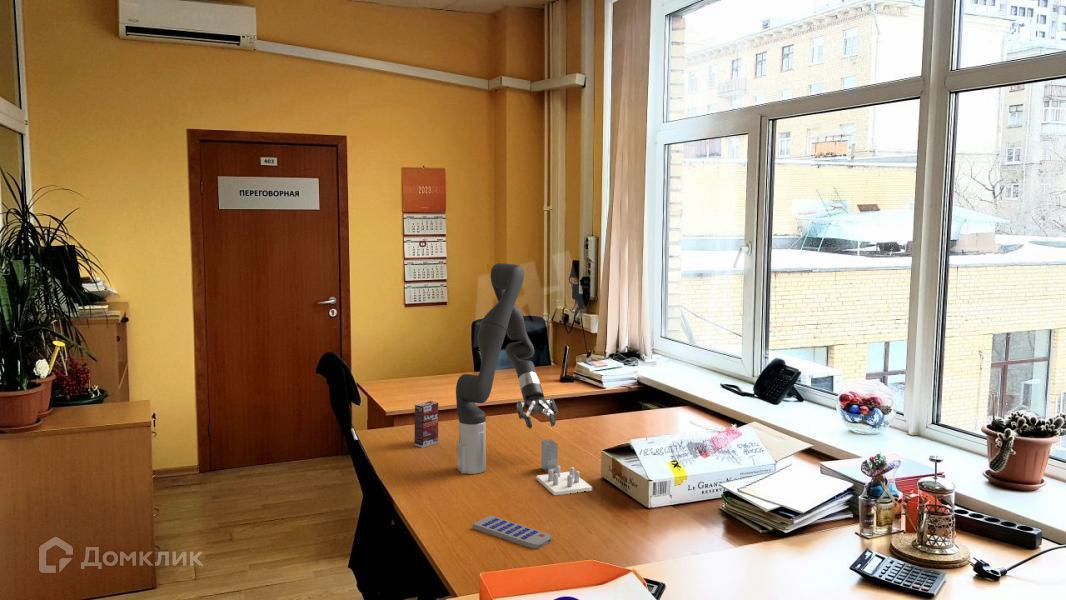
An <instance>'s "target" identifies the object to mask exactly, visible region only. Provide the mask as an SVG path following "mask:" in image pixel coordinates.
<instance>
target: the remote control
mask: <svg viewBox="0 0 1066 600" xmlns="http://www.w3.org/2000/svg"><path fill="white" fill-rule="evenodd" d="M472 529H473V530H477V531H480V532H483V533H485V534H488V535H492V536H493V537H497V538H500V539H503V540H506V541H509V542H513V543H515V544H518V545H521V546H524V547H527V548H530V549H540V548H543V547H544V546H546V545H548V544H549V543H551V542H552V536H551V535H550V533H547V532H544V531H541V530H538V529H534V528H531V527H529V526H525V525H522V524H519V523H516V522H513V521H509V520H507V519H504V518H500V517H497V516H494V515H488V516H486V517H484V518H482V519H479V521H476V522H474V523H472Z"/></svg>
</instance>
